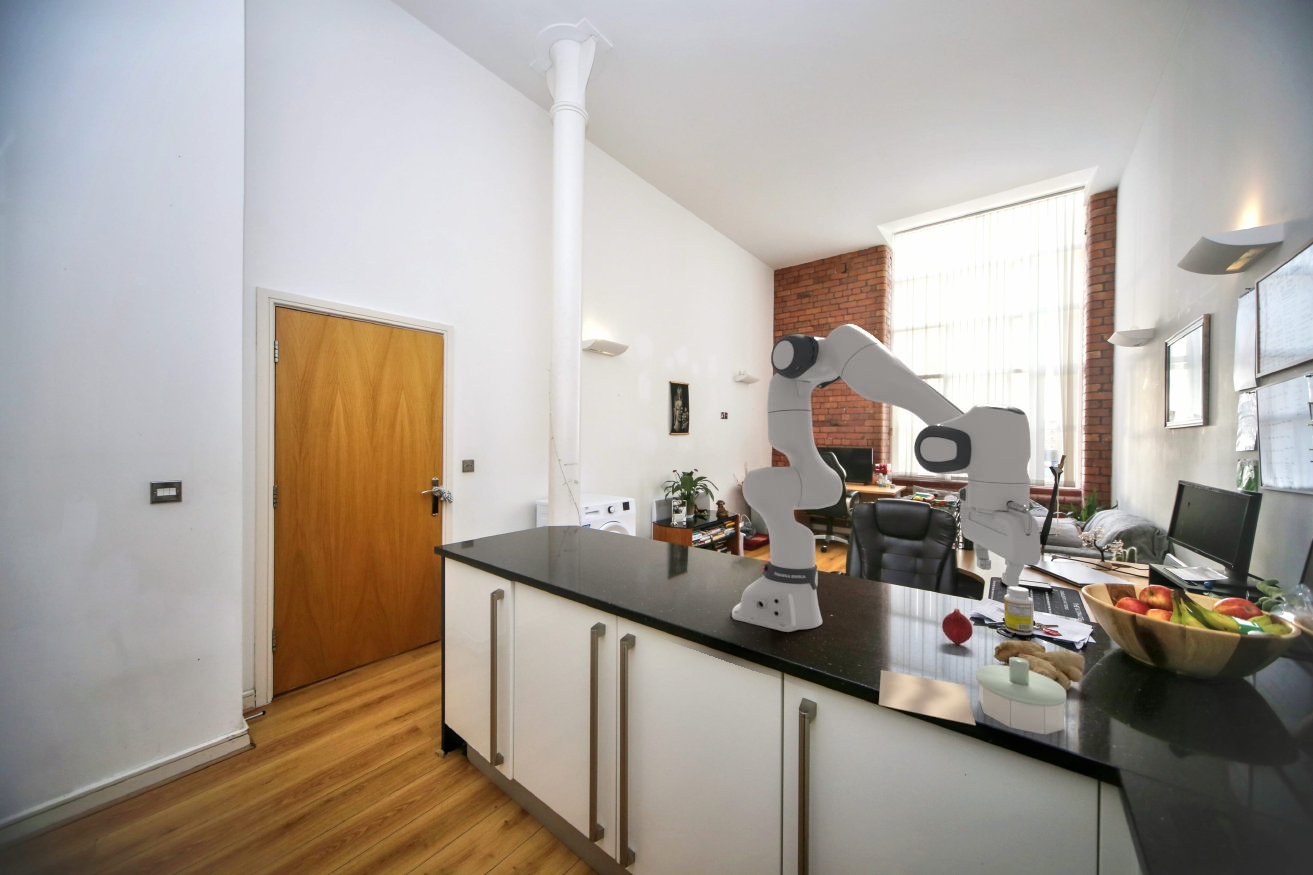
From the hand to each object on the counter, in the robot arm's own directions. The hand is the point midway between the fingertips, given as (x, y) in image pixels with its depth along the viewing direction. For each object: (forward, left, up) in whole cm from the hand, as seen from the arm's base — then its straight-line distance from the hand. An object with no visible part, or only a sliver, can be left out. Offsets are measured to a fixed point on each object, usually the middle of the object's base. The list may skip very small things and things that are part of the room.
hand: (996, 576), depth 86 cm
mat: (-11, -4, -22) cm, 25 cm away
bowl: (+3, -4, -22) cm, 22 cm away
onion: (-3, +25, -22) cm, 34 cm away
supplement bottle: (+11, +40, -22) cm, 47 cm away
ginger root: (+8, +13, -22) cm, 27 cm away
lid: (+2, -4, -17) cm, 17 cm away
